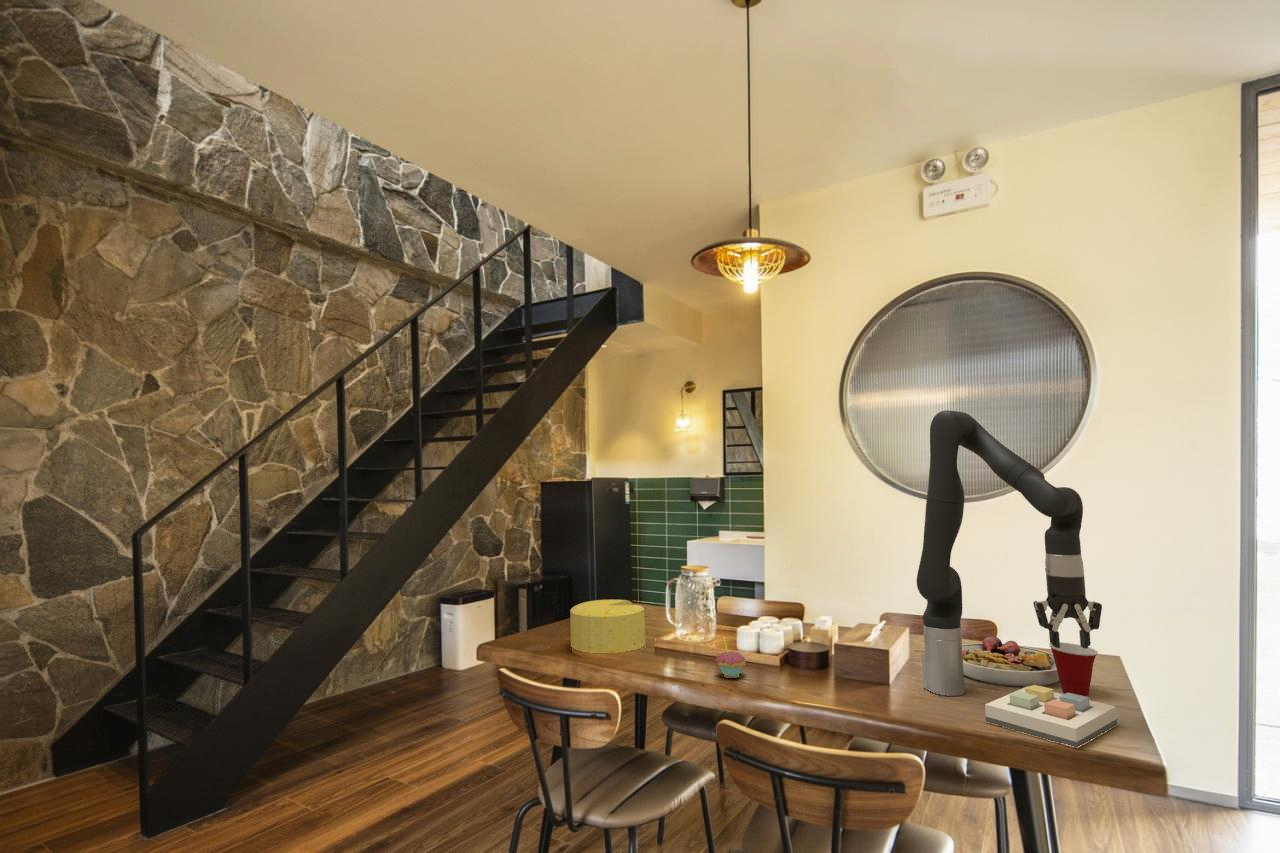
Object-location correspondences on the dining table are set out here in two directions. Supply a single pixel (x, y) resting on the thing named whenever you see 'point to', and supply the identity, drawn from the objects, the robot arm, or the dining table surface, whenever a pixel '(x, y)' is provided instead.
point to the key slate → (1076, 701)
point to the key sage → (1024, 700)
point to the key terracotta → (1060, 709)
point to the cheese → (607, 626)
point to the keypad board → (1053, 720)
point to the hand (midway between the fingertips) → (1070, 647)
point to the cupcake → (730, 661)
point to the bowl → (1008, 663)
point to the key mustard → (1041, 693)
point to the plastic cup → (1074, 667)
